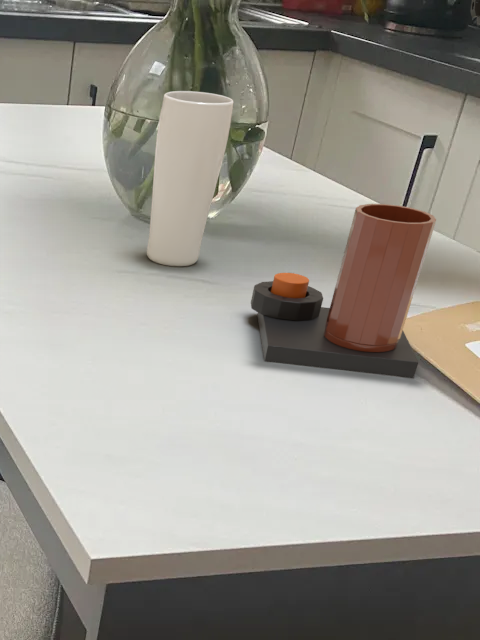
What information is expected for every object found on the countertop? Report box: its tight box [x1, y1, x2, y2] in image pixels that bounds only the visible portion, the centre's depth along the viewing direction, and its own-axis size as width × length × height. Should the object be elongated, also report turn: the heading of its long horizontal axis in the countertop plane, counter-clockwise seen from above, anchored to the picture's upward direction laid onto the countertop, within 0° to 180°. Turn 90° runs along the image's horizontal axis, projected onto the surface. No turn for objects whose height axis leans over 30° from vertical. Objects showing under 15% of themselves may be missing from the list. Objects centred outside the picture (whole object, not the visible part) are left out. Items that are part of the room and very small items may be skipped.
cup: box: [324, 203, 437, 352], centre depth 86 cm, size 6×6×10 cm
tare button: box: [271, 272, 310, 298], centre depth 94 cm, size 3×3×2 cm
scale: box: [250, 280, 419, 379], centre depth 92 cm, size 13×13×3 cm
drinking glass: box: [146, 90, 235, 267], centre depth 105 cm, size 7×7×15 cm
